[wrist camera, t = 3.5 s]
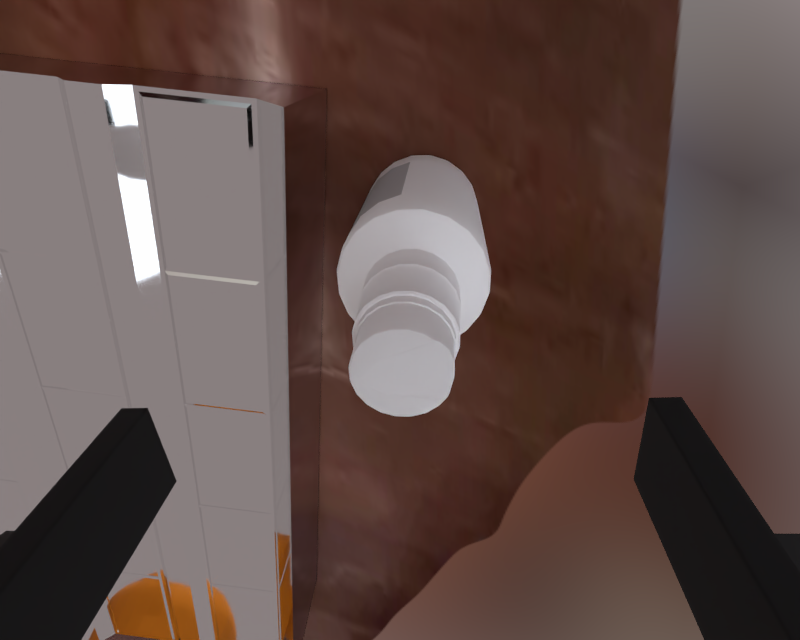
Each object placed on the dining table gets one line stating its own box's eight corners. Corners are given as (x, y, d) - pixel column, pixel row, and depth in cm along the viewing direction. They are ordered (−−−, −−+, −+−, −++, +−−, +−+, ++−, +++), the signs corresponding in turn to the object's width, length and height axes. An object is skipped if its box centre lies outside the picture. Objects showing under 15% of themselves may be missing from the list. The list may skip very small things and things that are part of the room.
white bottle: (356, 164, 31) (266, 295, 15) (469, 143, 30) (498, 260, 14) (380, 267, 34) (326, 464, 18) (483, 251, 33) (519, 446, 17)
